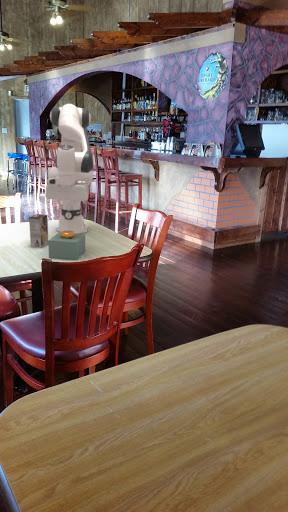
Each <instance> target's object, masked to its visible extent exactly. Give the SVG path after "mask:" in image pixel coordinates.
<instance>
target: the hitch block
mask: <svg viewBox="0 0 288 512" xmlns="http://www.w3.org/2000/svg"><path fill="white" fill-rule="evenodd" d="M85 252H86V233H79V234H76V233H74V238H72V239H63V238H61V232H59V231H57V233H55V235H53V236H52V237H50V238H48V259H55V260H69V261H70V260H71V261H78V260H79V259H80V258H81V256H82V255H83V254H84V253H85Z"/></svg>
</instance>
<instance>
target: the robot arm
mask: <svg viewBox="0 0 288 512" xmlns="http://www.w3.org/2000/svg"><path fill="white" fill-rule="evenodd" d="M91 115H92V114H91V113H90V110H89V109H87V108H85V107H82V108H81V107H77V106H76V105H75V104H73V103H65V104H64V105H63V106H54V107H52V109H51V111H50V114H49V119H50V122H51V125H53V126H54V127H58V131H59V133H60V134H61V139H60V141H61V143H60V145H59V146H58V147H57V152H56V155H55V156H54V166H51V168H50V169H49V170H48V174H47V175H48V179H47V181H46V183H47V185H46V186H45V198H46V200H56V203H57V204H58V207H59V208H58V209H60V214H61V215H60V216H59V217H58V228H56V232H61V231H74V233H76V234H86V233H87V232H88V228H89V227H88V225H86V224H85V218H84V217H83V215H82V213H83V212H82V207H81V202H86V201H88V199H89V195H88V193H89V192H88V190H89V185H90V184H91V183H92V182H93V179H94V174H93V170H94V167H95V159H94V156H93V154H92V150H91V144H90V140H89V136H88V133H87V130H86V129H87V128H88V127H89V126H90V124H91V121H92V116H91Z"/></svg>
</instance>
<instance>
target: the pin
mask: <svg viewBox="0 0 288 512" xmlns="http://www.w3.org/2000/svg"><path fill="white" fill-rule="evenodd" d="M61 238H63V239H72V238H74V231H61Z"/></svg>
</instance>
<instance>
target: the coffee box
mask: <svg viewBox="0 0 288 512" xmlns="http://www.w3.org/2000/svg"><path fill="white" fill-rule="evenodd" d="M28 219H29V220H28V221H29V239H30V240H29V241H30V242H29V243H30V248H39V249H42V248H43V247H45V246H47V245H49V241H48V240H49V224H48V223H49V222H48V214H42V213H41V214H40V213H37V214H33V215H32V216H30V217H28Z"/></svg>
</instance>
